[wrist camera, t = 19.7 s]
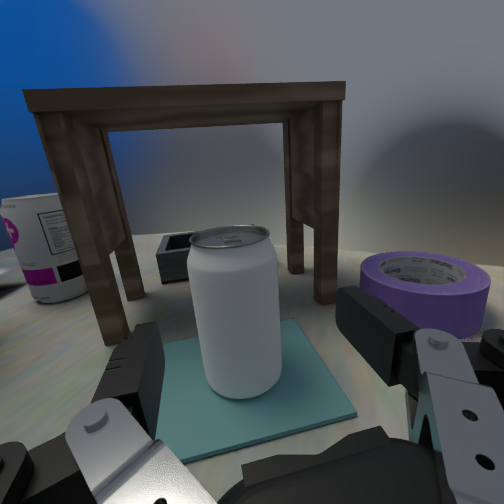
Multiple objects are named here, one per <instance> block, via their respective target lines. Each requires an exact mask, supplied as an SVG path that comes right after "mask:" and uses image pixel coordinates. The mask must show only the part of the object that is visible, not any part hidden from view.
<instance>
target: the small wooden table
mask: <svg viewBox="0 0 504 504" xmlns="http://www.w3.org/2000/svg"><path fill="white" fill-rule="evenodd" d="M345 89H346V81H330V82H329V81H327V82H292V83H291V82H289V83H251V84H213V85H177V86H137V87H101V88H100V87H99V88H62V89H26V90H25V89H23V90H22V91H23V94H24V97H25V101H26V104H27V107H28V110H29V112H31V113H33V115H34V118H35V122H36V125H37V128H38V132H39V134H40V138H41V141H42V144H43V148H44V151H45V154H46V157H47V160H48V163H49V167H50V170H51V173H52V177H53V180H54V183H55V186H56V189H57V193H58V196H59V199H60V202H61V205H62V209H63V212H64V215H65V218H66V222H67V225H68V228H69V231H70V234H71V238H72V241H73V244H74V247H75V250H76V254H77V257H78V260H79V263H80V266H81V270H82V273H83V276H84V279H85V283H86V286H87V289H88V292H89V295H90V299H91V302H92V305H93V308H94V311H95V315H96V318H97V321H98V324H99V328H100V331H101V334H102V337H103V340H104V344H105V346H107V345H112V344H118V343H121V342H122V341H123V340H126V339H127V336H128V334H129V327H128V324H127V320H126V316H125V312H124V309H123V305H122V301H121V297H120V294H119V290H118V286H117V283H116V279H115V275H114V271H113V268H112V264H111V260H110V257H109V255H110V254H111V253H112V252H113V251H115V255H116V259H117V263H118V266H119V270H120V274H121V278H122V282H123V286H124V289H125V293H126V297H127V301H129V300H136V299H142V298H143V295H144V293H145V291H144V287H143V283H142V278H141V274H140V270H139V265H138V261H137V257H136V253H135V248H134V244H133V240H132V235H131V231H130V227H129V223H128V218H127V214H126V210H125V206H124V201H123V197H122V193H121V189H120V184H119V180H118V176H117V171H116V167H115V163H114V158H113V154H112V150H111V146H110V141H109V137H108V133H107V132H118V131H137V130H155V129H174V128H191V127H211V126H228V125H247V124H266V123H283V145H284V146H283V147H284V175H285V203H286V204H285V205H286V233H287V262H288V270H289V271H290V273H291V274H296V273H303V272H304V241H303V239H304V238H303V237H304V236H303V223H304V224H306V225H307V226H310V227H312V228H313V229H314V298H315V299H316V301H317V302H318V303H319V304H320V305H326V304H331V303H336V288H337V255H338V221H339V191H340V158H341V127H342V101H343V100H345Z"/></svg>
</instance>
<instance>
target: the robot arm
mask: <svg viewBox="0 0 504 504" xmlns="http://www.w3.org/2000/svg"><path fill="white" fill-rule="evenodd" d="M336 324H337V327H338V329H339V330H340V332H341V333H342V334H343V335H344V336H345V337H346V339H347V340H348V341H349V342H350V343H351V344H352V345H353V347H354V348H355V349H356V350H357V351H358V352H359V353H360V355H361V356H362V357H363V358H364V359H365V360H366V361H367V363H368V364H369V365H370V366H371V367H372V368H373V369H374V371H375V372H376V373H377V374H378V375H379V376H380V377H381V379H382V380H383V381H384V382H385V383H386V384H387V385H388V387H390V386H394V385H398V384H402V385H403V386H404V387H405V388H406V392H405V398H406V409H407V421H408V432H409V441H407V440H403V439H397V438H389V437H388V435H387V434H386V433H385V431H384V430H383V428H382V427H381V426H377V427H373V428H370V429H366V430H363V431H359V432H356V433H352V434H349V435H347V436H346V437H344V438H343V439H341V440H340V441H338V442H337V443H335V444H334V445H332V446H331V447H330V448H328V449H327V450H325V451H324V452H322V453H320V454H317V455H275V456H271V457H268V458H264V459H261V460H257V461H254V462H250V463H247V464H243V465H241V466H242V474H243V480H241V481H240V482H238V483H237V484H235V485H234V486H233V487H232V488H231V489H229V490H228V491H227V492H226V493H225V494H224V495H223V496H222V497H221V499H220V500H219V501H218V502H217V503H216V502H215V501H214V500H213V499H212V497H211V496H210V495H209V494H208V493H207V492H206V490H205V489H204V488H203V487H202V486H201V485H200V483H199V482H198V481H197V480H196V479H195V478H194V477H193V475H192V474H191V473H190V472H189V471H188V470H187V468H186V467H185V466H184V465H183V464H182V463H181V461H180V460H179V459H178V458H177V457H176V456H175V455H174V453H173V452H172V451H171V450H170V449H169V448H168V446H167V445H166V444H165V443H164V442H163V441H162V440H160V439H157V440H156V441H155V437H156V429H157V422H158V415H159V408H160V401H161V393H162V386H163V379H164V372H165V355H164V350H163V345H162V341H161V337H160V332H159V328H158V324H157V322H156V321H154V322H149V323H143V324H138V325H136V326H135V329H134V332H133V335H132V337H131V339H126V340H123V341H122V342H121V343H120V344H119V345H118V346H117V347H116V348H115V349H114V350H113V352H112V355H111V357H110V359H109V362H108V364H107V366H106V369H105V371H104V373H103V376H102V378H101V380H100V383H99V385H98V387H97V390H96V392H95V394H94V397H93V399H92V401H91V404H90V405H88V406H86V407H85V408H84V409H82V410H81V411H80V412H79V413H78V414H77V415H76V416H75V417H74V418H73V419H72V420H71V422H70V423H69V425H68V427H67V429H66V432H64V433H63V434H61V435H59V436H57V437H56V438H54V439H52V440H49V441H47V442H45V443H43V444H41V445H39V446H37V447H35V448H33V449H31V450H29V451H27V449H26V447H25V446H24V445H23V443H20V442H8V443H4V444H1V445H0V504H504V330H500V329H489V330H486V331H484V332H483V335H482V339H481V342H461V341H460V340H459V339H458V338H456V337H455V336H453V335H451V334H449V333H447V332H444V331H441V330H437V329H430V328H426V329H420V328H419V327H418V326H416V325H415V324H413V323H412V322H411V321H409V320H408V319H407V318H405V317H404V316H402V315H401V314H400V313H398V312H395V310H394V309H393V308H391V307H390V306H388V305H387V304H386V303H385V302H383V301H382V300H380V299H379V298H376V297H374V296H371V295H369V294H366V293H364V292H363V291H362V290H360V289H359V288H358V287H356V286H349V287H343V288H339V289H338V290H337V293H336Z"/></svg>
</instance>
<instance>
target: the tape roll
mask: <svg viewBox="0 0 504 504" xmlns="http://www.w3.org/2000/svg"><path fill="white" fill-rule="evenodd" d="M490 283H491V279H490V276H489V275H488V274H487V273H486V272H485V271H484V270H483V269H481V268H479V267H478V266H476V265H474V264H471V263H469V262H466V261H463V260H460V259H457V258H454V257H449V256H445V255H439V254H433V253H425V252H412V251H411V252H410V251H399V252H386V253H380V254H376V255H373V256H370V257H368V258H366V259H365V260H364V261H363V262H362V264H361V273H360V290H362V291H363V292H364V293H366V294H369V295H371V296H374V297H376V298H379V299H380V300H382V301H383V302H385V303H386V304H387V305H388V306H390V307H391V308H393V309H394V310H395V312H398V313H400V314H401V315H402V316H404V317H405V318H407V319H408V320H409V321H411V322H412V323H413V324H415V325H416V326H418V327H419V328H420V329H426V328H430V329H437V330H441V331H444V332H447V333H449V334H451V335H453V336H455V337H456V338H458V339H461V338H466V337H469V336H471V335H473V334H475V333H476V332H477V331H478V330H479V329H480V327H481V324H482V319H483V315H484V310H485V306H486V301H487V297H488V292H489V288H490Z"/></svg>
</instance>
